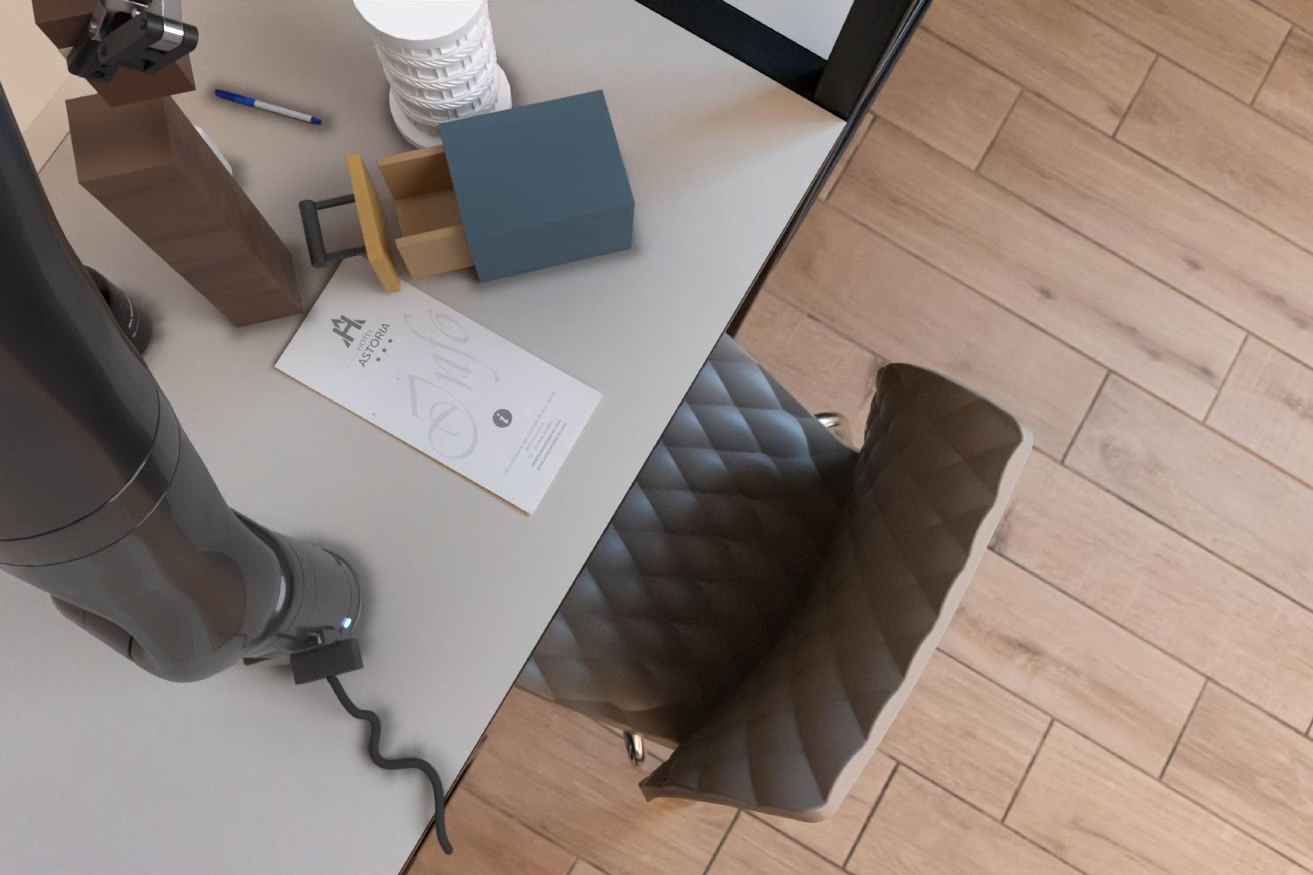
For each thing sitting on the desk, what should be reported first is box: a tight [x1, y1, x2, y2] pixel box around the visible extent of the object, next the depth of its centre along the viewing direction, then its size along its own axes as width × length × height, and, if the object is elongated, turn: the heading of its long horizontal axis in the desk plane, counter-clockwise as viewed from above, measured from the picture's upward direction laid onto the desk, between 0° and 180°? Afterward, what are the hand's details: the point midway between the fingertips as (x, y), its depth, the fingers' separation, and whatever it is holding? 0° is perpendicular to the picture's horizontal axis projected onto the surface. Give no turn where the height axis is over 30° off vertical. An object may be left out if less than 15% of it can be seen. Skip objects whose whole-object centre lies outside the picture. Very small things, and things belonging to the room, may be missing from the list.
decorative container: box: [352, 0, 513, 150], centre depth 87 cm, size 12×12×18 cm
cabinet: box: [438, 89, 636, 283], centre depth 89 cm, size 15×11×10 cm
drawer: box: [298, 144, 475, 295], centre depth 87 cm, size 19×10×8 cm, turn 105°
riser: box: [64, 92, 304, 329], centre depth 77 cm, size 6×6×28 cm
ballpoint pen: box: [214, 88, 322, 125], centre depth 94 cm, size 10×1×1 cm, turn 76°
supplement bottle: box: [83, 264, 153, 357], centre depth 83 cm, size 7×7×12 cm
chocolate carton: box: [31, 0, 197, 108], centre depth 55 cm, size 4×5×8 cm
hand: (80, 35), depth 55 cm, fingers closed on chocolate carton, 4 cm apart
